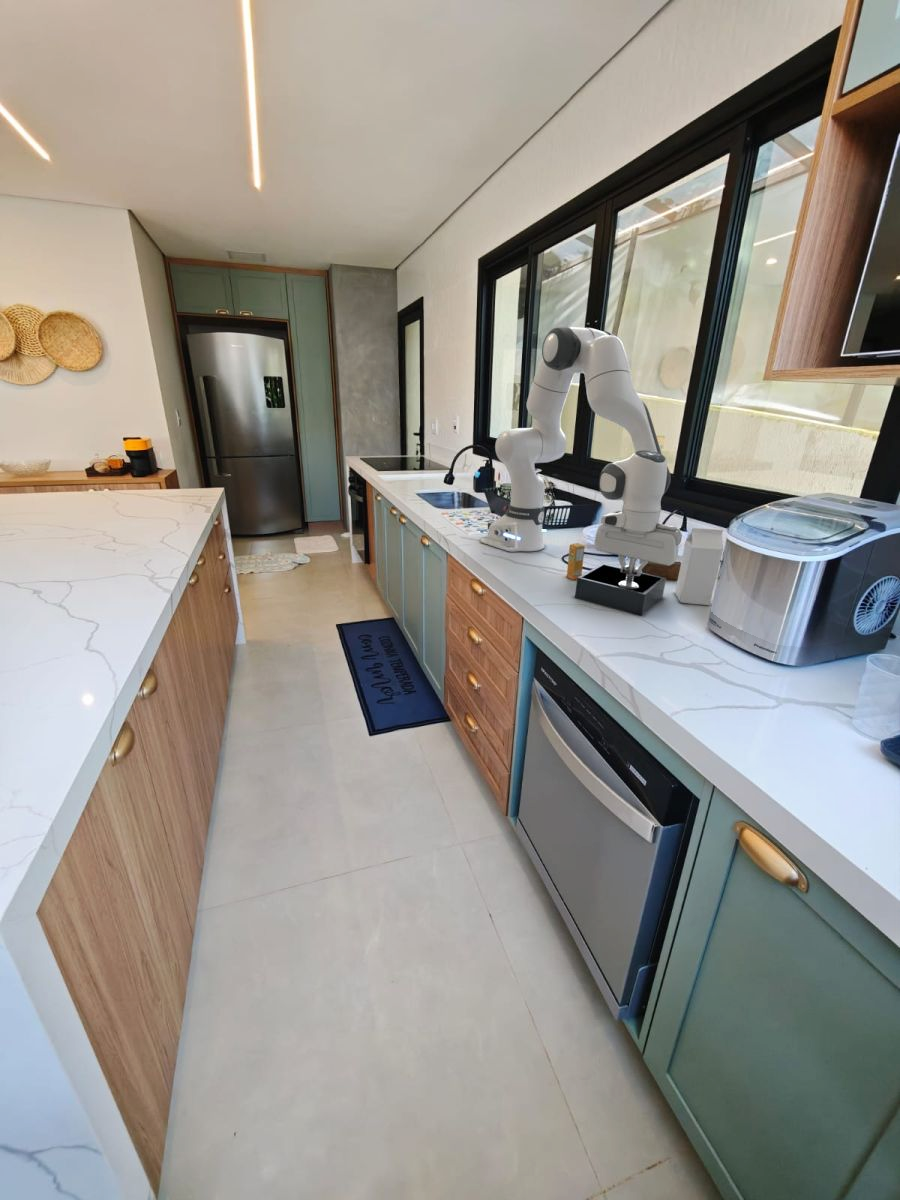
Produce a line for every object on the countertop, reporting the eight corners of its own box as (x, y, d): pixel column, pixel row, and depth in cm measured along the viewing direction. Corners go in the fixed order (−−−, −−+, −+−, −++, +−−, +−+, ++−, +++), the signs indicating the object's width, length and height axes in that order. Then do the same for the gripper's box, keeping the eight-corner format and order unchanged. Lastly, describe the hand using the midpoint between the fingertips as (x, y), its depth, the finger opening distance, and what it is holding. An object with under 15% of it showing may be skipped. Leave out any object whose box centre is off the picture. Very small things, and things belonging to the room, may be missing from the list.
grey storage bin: (574, 597, 132) (577, 577, 130) (599, 582, 143) (602, 563, 141) (641, 616, 122) (645, 594, 120) (662, 597, 133) (666, 578, 131)
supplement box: (565, 576, 147) (568, 543, 143) (574, 575, 148) (578, 542, 144) (572, 580, 144) (576, 546, 140) (581, 578, 145) (586, 545, 141)
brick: (677, 576, 149) (680, 561, 147) (681, 580, 145) (684, 565, 143) (640, 573, 151) (643, 558, 149) (642, 578, 147) (645, 562, 145)
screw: (636, 590, 132) (637, 596, 128) (617, 587, 133) (617, 594, 129) (645, 542, 127) (646, 547, 123) (625, 540, 128) (625, 545, 124)
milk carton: (709, 605, 128) (727, 533, 121) (680, 603, 130) (695, 531, 122) (702, 595, 135) (718, 526, 128) (674, 593, 136) (689, 524, 129)
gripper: (687, 525, 119) (676, 580, 125) (605, 512, 131) (598, 562, 137) (679, 530, 115) (668, 587, 120) (595, 516, 127) (588, 567, 132)
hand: (630, 573), depth 129 cm, fingers closed on screw
